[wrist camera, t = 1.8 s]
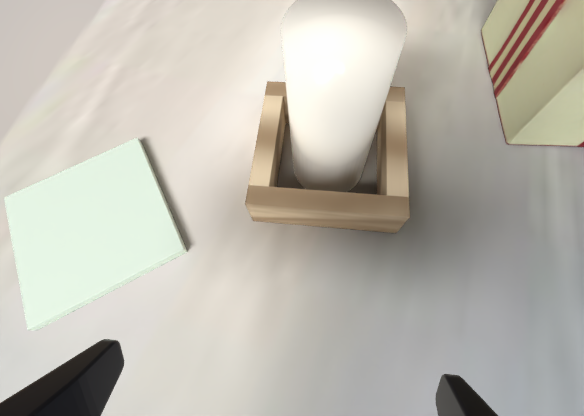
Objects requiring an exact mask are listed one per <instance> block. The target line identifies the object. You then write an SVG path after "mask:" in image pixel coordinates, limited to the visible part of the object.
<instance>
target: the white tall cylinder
mask: <svg viewBox="0 0 584 416" xmlns="http://www.w3.org/2000/svg"><path fill="white" fill-rule="evenodd" d="M406 35H407V23H406V19H405V17H404V15H403V13H402V11H401V10H400V8H399V7H398V6H397V5H396V4H395V3H394V2H393V1H392V0H297V1H296V2H294V3H293V4H292V5H291V6H290V7H289V9H288V10H287V11H286V13H285V15H284V17H283V19H282V23H281V38H282V49H283V59H284V70H285V81H286V92H287V103H288V113H289V124H290V135H291V146H292V156H293V167H294V173H295V176H296V178H297V180H298V182H299V183H300V184H301V185H302V186H303V187H304V188H305V189H308V190H322V191H335V192H348V191H349V190H351V189H352V188H353V187H354V186H355V185H356V184H357V183H358V181H359V180H360V178H361V175H362V172H363V169H364V166H365V163H366V160H367V157H368V154H369V150H370V147H371V144H372V141H373V138H374V135H375V132H376V129H377V126H378V123H379V120H380V116H381V113H382V110H383V107H384V104H385V101H386V98H387V95H388V92H389V89H390V85H391V82H392V79H393V76H394V73H395V70H396V67H397V64H398V61H399V58H400V55H401V51H402V48H403V45H404V42H405V39H406Z"/></svg>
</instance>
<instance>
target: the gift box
mask: <svg viewBox="0 0 584 416" xmlns="http://www.w3.org/2000/svg"><path fill="white" fill-rule="evenodd" d="M481 32H482V37H483V42H484V47H485V52H486V56H487V61H488V65H489V68H488V69H489V73H490V76H491V79H492V82H493V86H494V94H495V98H496V101H497V106H498V111H499V115H500V120H501V124H502V128H503V132H504V136H505V140H506V143H507V144H512V145H547V146H577V147H584V0H498V1H497V2H496V4H495V6H494V8H493V10H492V12H491V14H490V15H489V17H488V19H487V21H486V23H485V25H484V26H483V28H482V30H481Z"/></svg>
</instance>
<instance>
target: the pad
mask: <svg viewBox="0 0 584 416" xmlns="http://www.w3.org/2000/svg"><path fill="white" fill-rule="evenodd" d="M4 201H5V206H6V212H7V218H8V223H9V229H10V234H11V240H12V246H13V251H14V257H15V262H16V268H17V274H18V279H19V285H20V290H21V296H22V302H23V307H24V313H25V318H26V324H27V330H39V329H41V328H43V327H44V326H46V325H48V324H50V323H52V322H54V321H56V320H58V319H60V318H62V317H64V316H66V315H67V314H69V313H71V312H73V311H75V310H77V309H79V308H81V307H83V306H85V305H87V304H89V303H90V302H92V301H94V300H96V299H98V298H100V297H102V296H104V295H106V294H108V293H110V292H112V291H113V290H115V289H117V288H119V287H121V286H123V285H125V284H127V283H129V282H131V281H133V280H135V279H136V278H138V277H140V276H142V275H144V274H146V273H148V272H150V271H152V270H154V269H156V268H158V267H159V266H161V265H163V264H165V263H167V262H169V261H171V260H173V259H175V258H177V257H179V256H181V255H182V254H184V253H186V252H187V250H186V247H185V245H184V242H183V240H182V238H181V235H180V233H179V231H178V228H177V226H176V223H175V221H174V219H173V216H172V214H171V212H170V209H169V207H168V204H167V202H166V200H165V197H164V195H163V192H162V190H161V188H160V185H159V183H158V181H157V178H156V176H155V173H154V171H153V169H152V166H151V164H150V162H149V159H148V157H147V154H146V152H145V150H144V147H143V145H142V143H141V141H140V140H139V139H138V138H135V139H133V140H131V141H128V142H126V143H124V144H122V145H119V146H117V147H115V148H113V149H111V150H108V151H106V152H104V153H102V154H100V155H97V156H95V157H93V158H91V159H89V160H86V161H84V162H82V163H80V164H77V165H75V166H73V167H71V168H69V169H66V170H64V171H62V172H60V173H58V174H55V175H53V176H51V177H49V178H47V179H44V180H42V181H40V182H38V183H35V184H33V185H31V186H29V187H27V188H24V189H22V190H20V191H18V192H16V193H13V194H11V195H9V196H7V197H5V198H4Z"/></svg>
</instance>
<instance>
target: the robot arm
mask: <svg viewBox="0 0 584 416" xmlns="http://www.w3.org/2000/svg"><path fill="white" fill-rule="evenodd" d="M123 366H124V358H123V354H122V350H121V346H120V343H119V342H118V341H117V340H110V339H104V340H101V341H99V342H98V343H96V344H94V345H93V346H91V347H90V348H88V349H86V350H85V351H83V352H82V353H80V354H78V355H77V356H75V357H74V358H72V359H70V360H69V361H67V362H66V363H64V364H62V365H61V366H59V367H57V368H56V369H54V370H53V371H51V372H49V373H48V374H46V375H45V376H43V377H41V378H40V379H38V380H37V381H35V382H33V383H32V384H30V385H29V386H27V387H25V388H24V389H22V390H20V391H19V392H17V393H16V394H14V395H12V396H11V397H9V398H8V399H6V400H4V401H3V402H1V403H0V416H101V414H102V412H103V410H104V408H105V405H106V403H107V401H108V399H109V397H110V395H111V393H112V391H113V389H114V386H115V384H116V382H117V380H118V378H119V376H120V374H121V372H122V369H123ZM436 406H437V411H438V415H439V416H498V415H497V414H496V413H495V412H494V411H493V410H492V409H491V408H490V407H489V406H488V405H487V403H486V402H485V401H484V400H483V399H482V398H481V397H480V396H479V395H478V394H477V393H476V392H475V391H474V390H473V389H472V388H471V387H470V386H469V385H468V384H467V383H466V382H465V380H464V379H463V378H461V377H460V376H458V375H450V374H444V375H442V377H441V380H440V383H439V386H438V389H437V393H436Z"/></svg>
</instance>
